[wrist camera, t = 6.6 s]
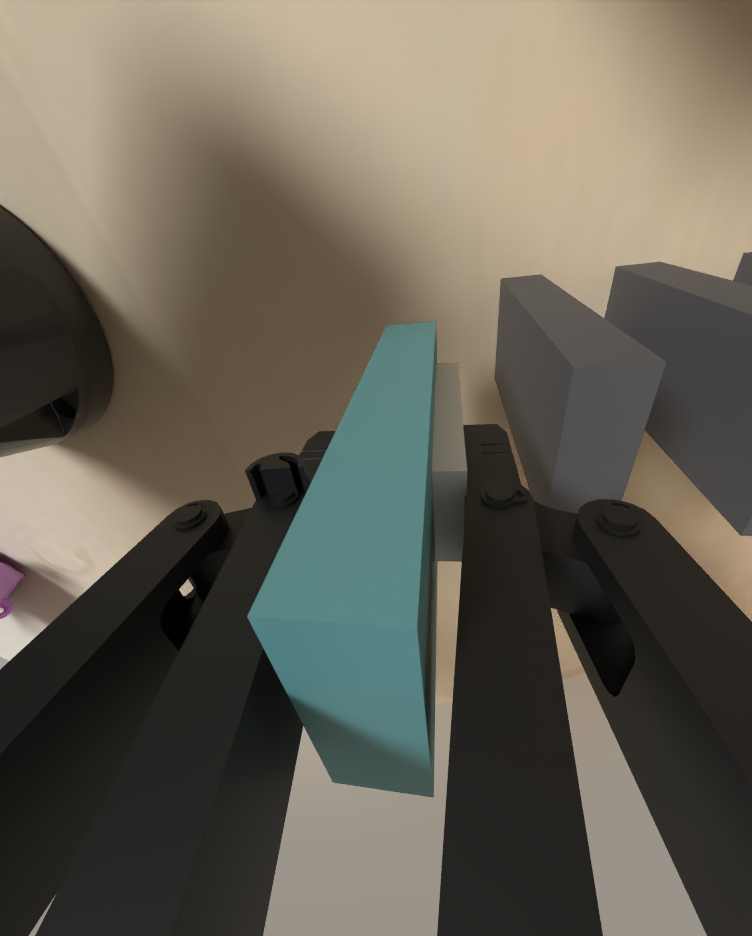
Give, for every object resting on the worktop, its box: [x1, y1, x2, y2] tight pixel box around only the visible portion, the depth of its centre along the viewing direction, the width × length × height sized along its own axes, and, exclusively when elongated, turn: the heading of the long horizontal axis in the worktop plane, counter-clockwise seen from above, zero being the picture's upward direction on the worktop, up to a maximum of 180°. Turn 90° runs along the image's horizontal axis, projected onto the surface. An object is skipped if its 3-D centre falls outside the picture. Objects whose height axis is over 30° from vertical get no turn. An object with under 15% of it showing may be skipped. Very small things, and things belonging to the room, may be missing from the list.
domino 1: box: [247, 321, 437, 797], centre depth 10 cm, size 2×5×12 cm, turn 7°
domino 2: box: [495, 275, 666, 514], centre depth 14 cm, size 2×5×12 cm, turn 7°
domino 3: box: [605, 262, 752, 536], centre depth 13 cm, size 2×5×12 cm, turn 7°
